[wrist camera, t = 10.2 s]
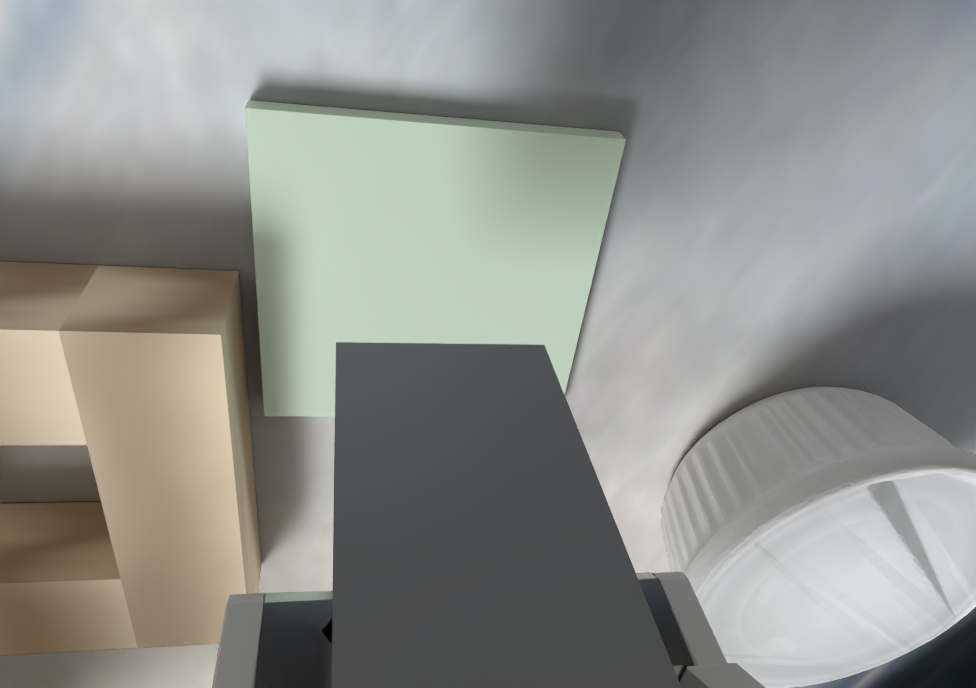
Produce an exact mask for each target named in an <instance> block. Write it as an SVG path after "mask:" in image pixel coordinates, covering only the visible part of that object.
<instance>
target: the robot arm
mask: <svg viewBox="0 0 976 688" xmlns="http://www.w3.org/2000/svg"><path fill="white" fill-rule="evenodd" d="M636 575H637V578H638V580H639V583H640V585H641V588H642V590H643V593H644V595H645V598H646V600H647V603H648V605H649V608H650V610H651V613H652V615H653V618H654V620H655V623H656V625H657V628H658V630H659V633H660V635H661V638H662V640H663V643H664V645H665V648H666V650H667V653H668V655H669V658H670V660H671V663H672V665H673V668H674V670H675V673H676V675H677V678H678V680H679V683H680V685H681V688H765V687H764V686H763V685H762V684H761V683H759V682H758V681H757V680H756V679H755V678H754V677H752V676H751V675H750V674H749V673H748V672H747V671H745V670H744V669H743V668H742V667H741V666H739V665H738V664H737V663H727V660H726V658H725V656H724V654H723V652H722V650H721V648H720V645H719V643H718V641H717V639H716V637H715V635H714V633H713V630H712V628H711V626H710V624H709V622H708V620H707V618H706V616H705V613H704V611H703V609H702V607H701V605H700V603H699V601H698V598H697V596H696V594H695V592H694V590H693V588H692V586H691V583H690V581H689V579H688V577H687V576H686V575H685V574H684V573H683V572H678V571H676V572H663V573H650V572H647V573H636ZM332 617H333V591H311V592H283V593H252V594H232V595H229V598H228V601H227V604H226V607H225V613H224V619H223V625H222V631H221V637H220V643H219V649H218V655H217V662H216V668H215V674H214V680H213V686H212V688H332Z"/></svg>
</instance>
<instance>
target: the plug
mask: <svg viewBox="0 0 976 688" xmlns="http://www.w3.org/2000/svg"><path fill="white" fill-rule="evenodd" d="M332 688H681V685H680V683H679V680H678V678H677V675H676V673H675V670H674V668H673V665H672V663H671V660H670V658H669V655H668V653H667V650H666V648H665V645H664V643H663V640H662V638H661V635H660V633H659V630H658V628H657V625H656V623H655V620H654V618H653V615H652V613H651V610H650V608H649V605H648V603H647V600H646V598H645V595H644V593H643V590H642V588H641V585H640V583H639V580H638V578H637V575H636V573H635V570H634V568H633V565H632V563H631V560H630V558H629V555H628V553H627V550H626V548H625V545H624V543H623V540H622V538H621V535H620V533H619V530H618V528H617V525H616V523H615V520H614V518H613V515H612V513H611V510H610V508H609V505H608V503H607V500H606V498H605V495H604V493H603V490H602V488H601V485H600V483H599V480H598V478H597V475H596V473H595V470H594V468H593V465H592V463H591V460H590V458H589V455H588V453H587V450H586V448H585V445H584V443H583V440H582V438H581V435H580V433H579V430H578V428H577V425H576V423H575V420H574V418H573V415H572V413H571V410H570V408H569V405H568V403H567V400H566V398H565V395H564V393H563V390H562V388H561V385H560V383H559V380H558V378H557V375H556V373H555V370H554V368H553V365H552V363H551V360H550V358H549V355H548V353H547V350H546V348H545V345H529V344H444V343H358V342H336V378H335V458H334V537H333V617H332Z"/></svg>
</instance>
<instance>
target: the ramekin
mask: <svg viewBox="0 0 976 688" xmlns="http://www.w3.org/2000/svg"><path fill="white" fill-rule="evenodd" d="M661 514H662V517H661V528H662V532H663V539H664V544H665V548H666V552H667V557H668V561H669V566H670V570H671V572H676V571H678V572H683V573H684V574H685V575H686V576H687V577H688V579H689V581H690V583H691V586H692V588H693V590H694V592H695V594H696V596H697V598H698V601H699V603H700V605H701V607H702V609H703V611H704V613H705V616H706V618H707V620H708V622H709V624H710V626H711V628H712V630H713V633H714V635H715V637H716V639H717V641H718V643H719V645H720V648H721V650H722V652H723V654H724V656H725V658H726V660H727V663H737V664H738V665H739V666H741V667H742V668H743V669H744V670H745V671H747V672H748V673H749V674H750V675H751V676H752V677H754V678H755V679H756V680H757V681H758V682H759V683H761V684H762V685H763V686H764V687H765V688H791V687H796V686H799V687H802V686H807V685H814V684H819V683H824V682H829V681H833V680H836V679H840V678H844V677H848V676H851V675H854V674H857V673H860V672H863V671H866V670H869V669H872V668H874V667H877V666H879V665H882V664H884V663H887V662H889V661H891V660H893V659H895V658H897V657H899V656H902V655H904V654H906V653H908V652H910V651H912V650H913V649H915V648H917V647H919V646H921V645H923V644H925V643H927V642H928V641H930V640H932V639H933V638H935V637H937V636H938V635H940V634H941V633H943V632H944V631H946V630H947V629H949V628H950V627H951V626H953V625H954V624H955V623H957V622H958V621H959V620H960V619H962V618H963V617H964V616H966V615H967V614H968V613H969V612H970V611H972V610H973V609H974V608H975V607H976V455H975V454H972V453H970V452H967V451H964V450H960V449H958V448H957V447H955V446H954V445H953V444H951V443H950V442H949V441H947V440H946V439H945V438H943V437H942V436H940V435H939V434H938V433H936V432H935V431H934V430H932V429H931V428H929V427H928V426H926V425H925V424H924V423H922V422H921V421H919V420H918V419H916V418H915V417H914V416H912V415H911V414H909V413H908V412H906V411H905V410H903V409H902V408H901V407H899V406H898V405H896V404H894V403H893V402H891V401H889V400H887V399H884V398H882V397H880V396H878V395H875V394H872V393H867V392H864V391H862V390H856V389H848V388H843V387H809V388H801V389H796V390H791V391H787V392H783V393H779V394H776V395H773V396H770V397H767V398H765V399H762V400H760V401H758V402H755V403H753V404H751V405H749V406H747V407H745V408H743V409H742V410H740V411H738V412H736V413H734V414H733V415H731V416H729V417H728V418H726V419H725V420H723V421H722V422H720V423H719V424H717V425H716V426H715V427H714V428H712V429H711V430H710V431H709V432H707V433H706V434H705V435H704V436H703V437H702V438H701V439H699V440H698V442H697V443H696V444H695V445H694V446H693V447H692V448H691V449H690V450H689V452H688V453H687V454H686V456H685V457H684V458H683V460H682V461H681V462H680V464H679V466H678V467H677V469H676V471H675V473H674V475H673V477H672V480H671V481H670V483H669V485H668V489H667V491H666V493H665V496H664V502H663V505H662V508H661Z"/></svg>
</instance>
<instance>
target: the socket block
mask: <svg viewBox="0 0 976 688" xmlns="http://www.w3.org/2000/svg"><path fill="white" fill-rule="evenodd" d="M11 445H87V447H88V451H89V455H90V459H91V463H92V467H93V471H94V475H95V479H96V483H97V487H98V491H99V495H100V499H101V502H67V503H11V504H0V656H2V655H20V654H38V653H56V652H75V651H93V650H111V649H130V648H148V647H166V646H184V645H203V644H219V643H220V637H221V631H222V625H223V619H224V613H225V607H226V604H227V601H228V598H229V595H232V594H252V593H258V586H259V579H260V571H261V555H260V542H259V529H258V516H257V503H256V489H255V476H254V463H253V450H252V437H251V424H250V410H249V397H248V384H247V371H246V358H245V345H244V332H243V318H242V305H241V292H240V279H239V271H225V270H201V269H176V268H152V267H127V266H103V265H78V264H53V263H29V262H4V261H0V446H11Z"/></svg>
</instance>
